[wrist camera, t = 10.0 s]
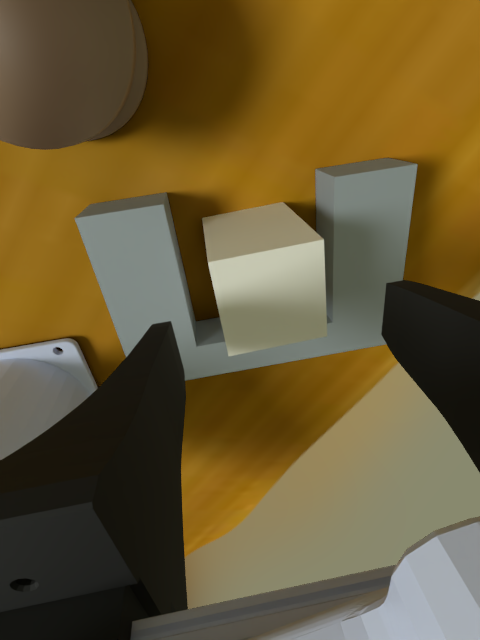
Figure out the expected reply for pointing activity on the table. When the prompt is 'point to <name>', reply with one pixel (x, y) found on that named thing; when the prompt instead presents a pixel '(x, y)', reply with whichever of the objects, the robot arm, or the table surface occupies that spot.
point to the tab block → (266, 277)
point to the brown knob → (69, 70)
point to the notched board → (207, 335)
